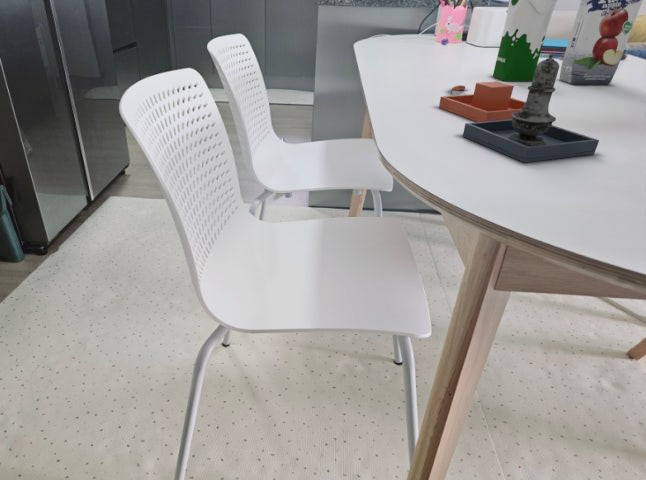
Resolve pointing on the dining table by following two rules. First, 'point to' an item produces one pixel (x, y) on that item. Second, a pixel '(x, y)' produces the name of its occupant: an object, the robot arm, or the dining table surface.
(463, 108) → the terracotta tray
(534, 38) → the soya milk
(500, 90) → the terracotta block
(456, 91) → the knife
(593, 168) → the dining table surface
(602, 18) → the juice carton
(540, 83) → the carved stone statue
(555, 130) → the slate tray
